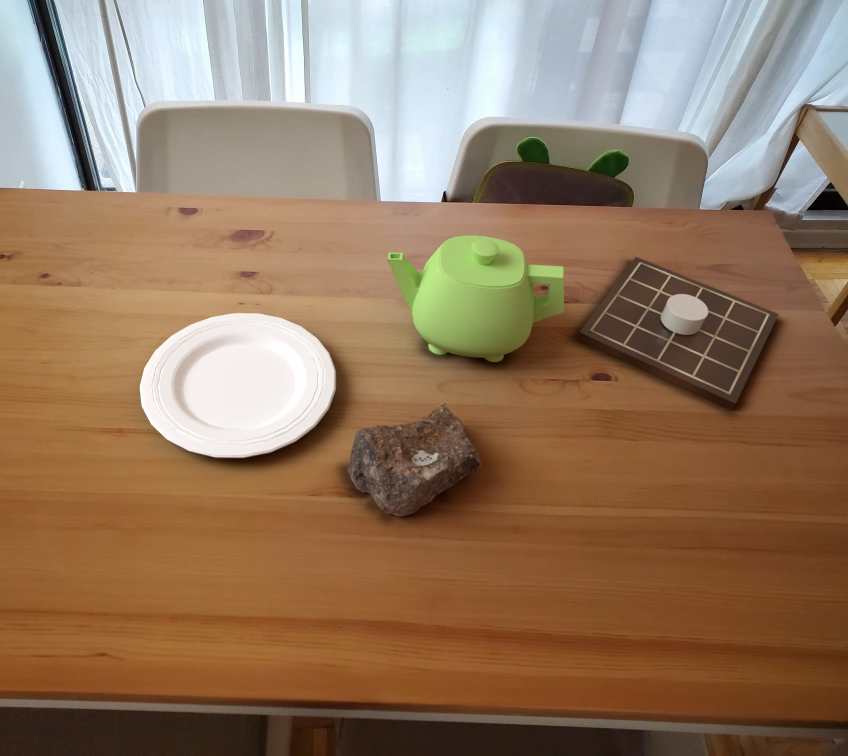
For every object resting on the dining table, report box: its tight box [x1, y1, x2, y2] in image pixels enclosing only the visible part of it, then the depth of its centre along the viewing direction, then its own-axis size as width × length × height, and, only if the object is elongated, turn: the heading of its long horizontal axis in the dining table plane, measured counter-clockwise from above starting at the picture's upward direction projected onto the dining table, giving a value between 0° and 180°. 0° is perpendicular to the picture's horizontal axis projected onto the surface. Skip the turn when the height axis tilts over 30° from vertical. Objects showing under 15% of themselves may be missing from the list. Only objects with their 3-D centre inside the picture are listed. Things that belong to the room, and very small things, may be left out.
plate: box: [139, 312, 337, 459], centre depth 77 cm, size 21×21×2 cm
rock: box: [347, 402, 482, 517], centre depth 69 cm, size 13×8×6 cm, turn 120°
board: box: [576, 256, 779, 411], centre depth 86 cm, size 18×18×1 cm
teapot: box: [387, 235, 565, 363], centre depth 81 cm, size 20×13×13 cm
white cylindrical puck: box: [661, 294, 708, 335], centre depth 85 cm, size 5×5×2 cm
